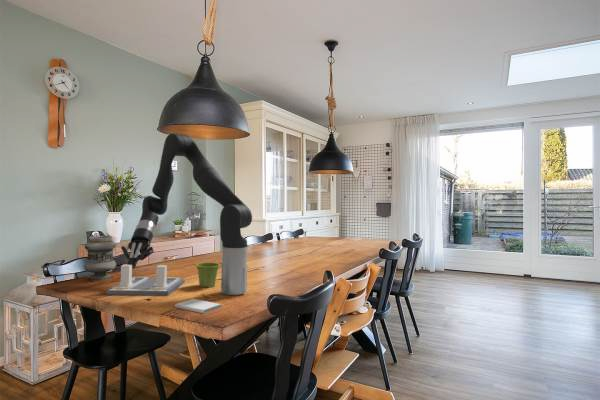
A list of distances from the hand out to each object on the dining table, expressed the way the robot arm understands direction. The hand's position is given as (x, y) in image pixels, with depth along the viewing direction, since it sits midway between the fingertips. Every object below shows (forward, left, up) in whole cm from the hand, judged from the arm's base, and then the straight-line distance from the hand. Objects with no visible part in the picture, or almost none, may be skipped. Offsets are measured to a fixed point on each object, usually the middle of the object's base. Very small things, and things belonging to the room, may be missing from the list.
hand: (130, 267), depth 138 cm
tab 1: (0, +3, -6) cm, 7 cm away
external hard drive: (-32, +23, -9) cm, 40 cm away
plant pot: (-28, -7, -8) cm, 30 cm away
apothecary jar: (+20, -17, -8) cm, 27 cm away
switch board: (-6, -1, -8) cm, 10 cm away
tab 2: (-13, +3, -6) cm, 15 cm away
